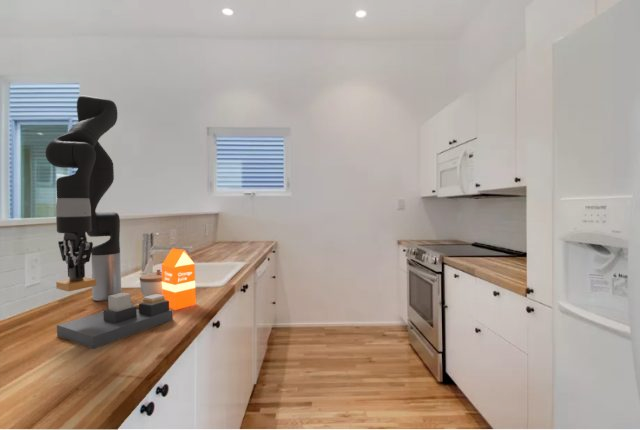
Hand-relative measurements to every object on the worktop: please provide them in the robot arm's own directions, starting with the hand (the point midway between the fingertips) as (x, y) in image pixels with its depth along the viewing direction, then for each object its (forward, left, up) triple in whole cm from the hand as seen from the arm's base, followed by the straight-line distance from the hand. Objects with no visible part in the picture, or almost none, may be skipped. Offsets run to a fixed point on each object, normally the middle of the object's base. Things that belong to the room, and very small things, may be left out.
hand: (76, 277), depth 86 cm
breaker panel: (+6, +8, -16) cm, 18 cm away
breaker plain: (+8, +7, -10) cm, 15 cm away
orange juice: (+4, +30, -16) cm, 34 cm away
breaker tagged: (+11, +15, -13) cm, 23 cm away
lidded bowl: (-10, +32, -16) cm, 37 cm away
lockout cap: (0, 0, -3) cm, 3 cm away
